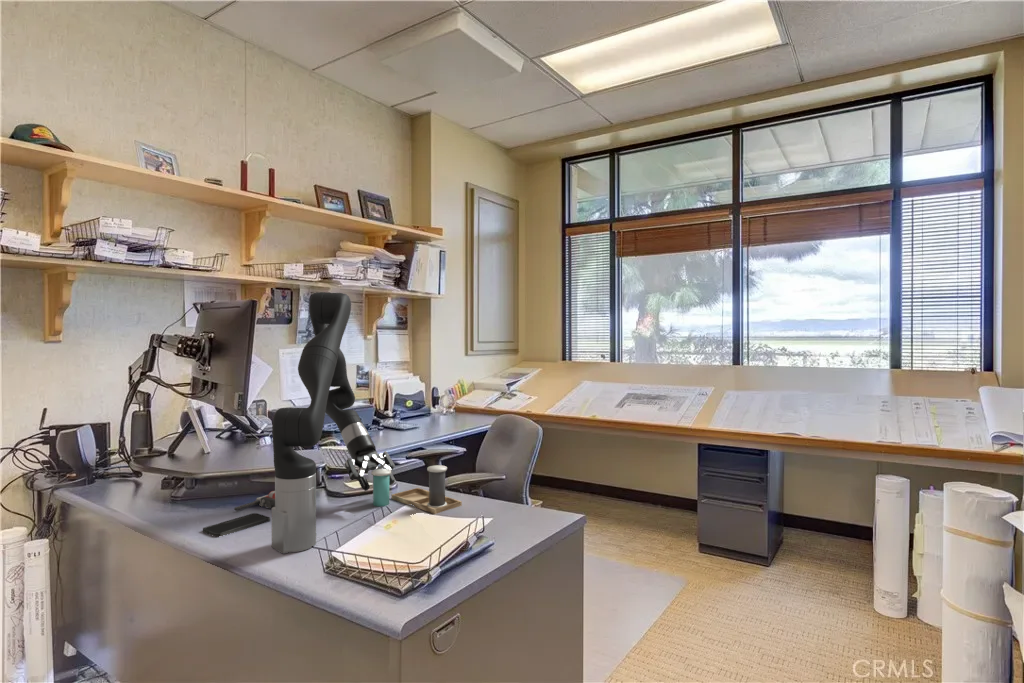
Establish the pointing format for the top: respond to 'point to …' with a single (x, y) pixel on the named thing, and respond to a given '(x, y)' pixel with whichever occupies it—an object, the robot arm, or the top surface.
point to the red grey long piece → (261, 501)
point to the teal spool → (381, 487)
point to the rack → (424, 500)
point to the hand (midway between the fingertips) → (380, 486)
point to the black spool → (436, 486)
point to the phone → (236, 524)
